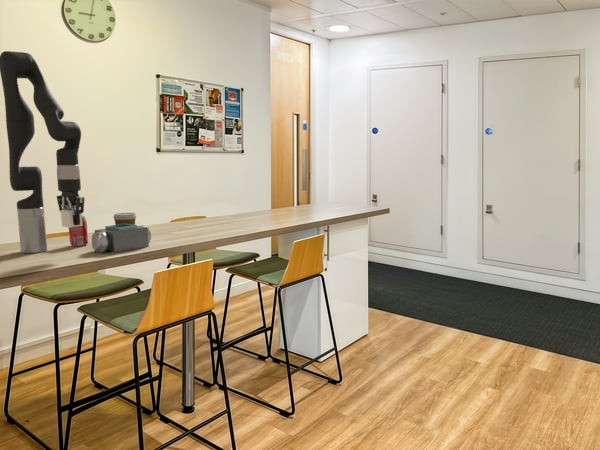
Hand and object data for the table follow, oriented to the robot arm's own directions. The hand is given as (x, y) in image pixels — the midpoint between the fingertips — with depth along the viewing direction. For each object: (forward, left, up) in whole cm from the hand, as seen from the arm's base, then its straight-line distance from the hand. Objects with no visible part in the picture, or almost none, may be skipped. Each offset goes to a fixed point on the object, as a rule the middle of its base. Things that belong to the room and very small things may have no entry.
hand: (72, 224), depth 187 cm
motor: (0, +20, -12) cm, 24 cm away
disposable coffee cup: (-14, +32, -12) cm, 37 cm away
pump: (0, 0, -1) cm, 1 cm away
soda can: (-22, +15, -12) cm, 30 cm away
